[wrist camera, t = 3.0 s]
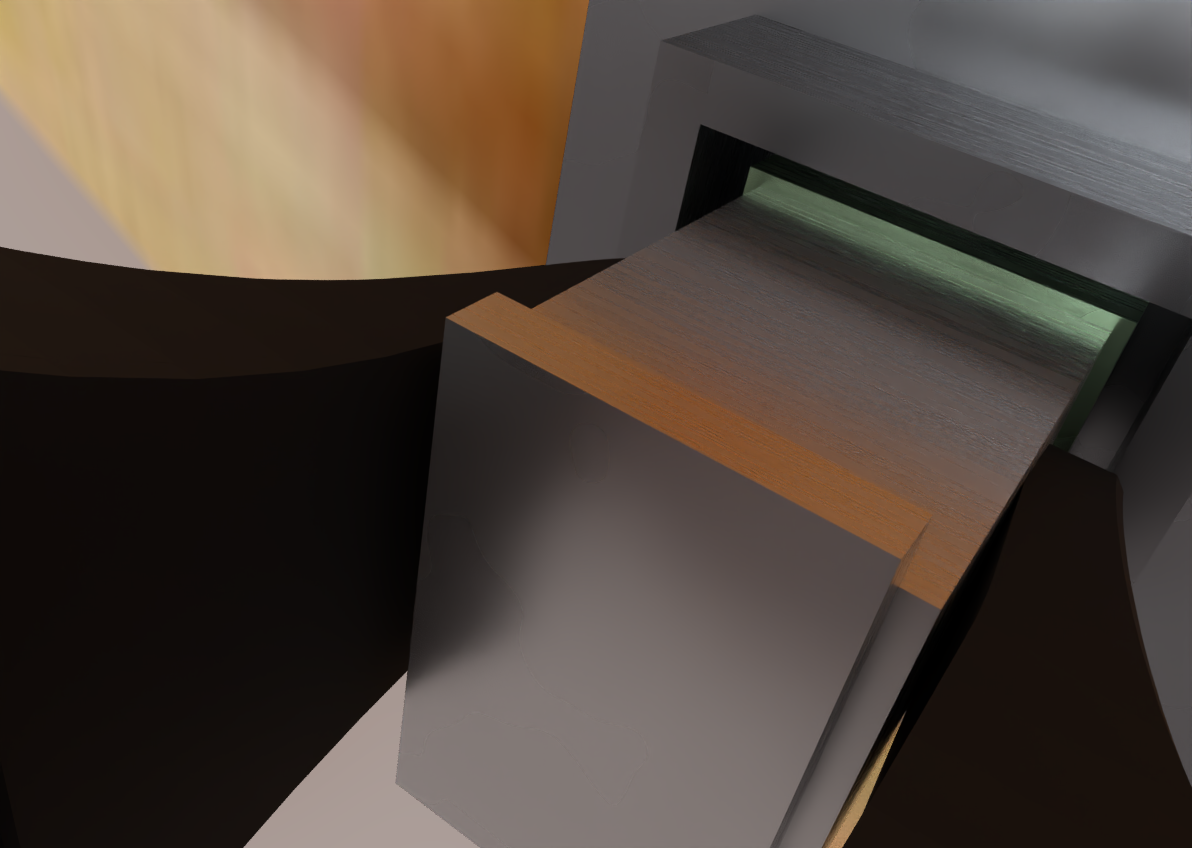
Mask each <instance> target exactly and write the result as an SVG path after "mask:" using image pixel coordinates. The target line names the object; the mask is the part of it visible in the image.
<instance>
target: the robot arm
mask: <svg viewBox="0 0 1192 848" xmlns="http://www.w3.org/2000/svg"><path fill="white" fill-rule="evenodd" d="M623 259H625V258H615V259H601V260H589V261H579V262H569V263H559V264H550V265H541V266H531V267H522V268H512V269H503V270H494V271H484V272H474V273H461V274H446V275H432V276H418V277H404V278H390V279H369V280H276V279H252V278H239V277H227V276H215V275H203V274H191V273H179V272H166V271H154V270H145V269H136V268H129V267H122V266H114V265H107V264H100V263H92V262H85V261H79V260H72V259H67V258H61V257H55V256H49V255H43V254H36V253H31V252H24V251H19V250H14V249H9V248H4V247H0V848H243V847H244V846H245V845H246V844H247V843H248V842H249V840H250V839H251V838H252V837H253V836H254V835H255V834H256V832H257V831H258V830H259V829H260V828H261V827H262V826H263V824H264V823H265V822H266V821H267V820H268V819H269V818H270V817H271V815H272V814H273V813H274V812H275V811H276V810H277V809H278V807H279V806H280V805H281V804H282V803H283V802H284V801H285V799H286V798H287V797H288V796H289V795H290V794H291V792H292V791H293V790H294V789H295V788H296V787H297V786H298V785H299V784H300V783H301V782H302V781H303V779H304V778H305V777H306V776H307V775H308V774H309V773H310V772H311V771H312V770H313V769H314V768H315V766H317V764H318V763H319V762H320V761H321V760H322V759H323V758H324V757H325V756H326V755H327V754H328V753H329V751H330V750H331V749H332V748H333V747H334V746H335V745H336V744H337V743H338V742H339V741H340V740H341V739H342V738H343V737H344V735H345V734H346V733H347V732H348V731H349V730H350V729H351V728H352V727H353V726H354V725H355V724H356V723H357V721H358V720H359V719H360V718H361V717H362V716H363V715H364V714H365V713H366V712H367V711H368V710H369V709H370V708H371V707H372V706H373V705H374V704H375V703H376V702H377V701H378V700H379V699H380V698H381V697H382V696H383V695H384V694H385V693H386V692H387V691H388V690H389V689H390V688H391V687H392V685H394V684H395V683H396V682H397V681H398V680H399V679H400V678H401V677H402V676H403V675H404V674H405V673H406V672H407V671H408V663H409V653H410V644H411V635H412V625H413V616H414V607H415V598H416V588H417V579H418V570H419V561H420V551H421V542H422V533H423V524H424V514H425V505H426V496H427V486H428V477H429V468H430V459H431V449H432V440H433V431H434V422H435V412H436V403H437V394H438V384H439V375H440V366H441V357H442V347H443V338H444V329H445V320H446V317H448V316H450V315H452V314H454V313H456V312H458V311H460V310H462V309H464V308H466V307H468V306H470V305H472V304H474V303H476V302H478V301H480V300H482V299H484V298H486V297H488V296H490V295H492V294H494V293H496V292H498V293H500V294H502V295H504V296H506V297H508V298H510V299H512V300H514V301H516V302H518V303H520V304H522V305H524V306H526V307H528V308H530V309H532V308H534V307H536V306H538V305H540V304H542V303H543V302H545V301H547V300H549V299H551V298H553V297H555V296H556V295H558V294H560V293H562V292H564V291H566V290H568V289H569V288H571V287H573V286H575V285H577V284H579V283H581V282H583V281H584V280H586V279H588V278H590V277H592V276H594V275H596V274H597V273H599V272H601V271H603V270H605V269H607V268H609V267H610V266H612V265H614V264H616V263H618V262H620V261H622V260H623ZM1123 493H1124V492H1123V489H1122V486H1121V484H1120V481H1119V478H1118V476H1117V475H1116V474H1114V473H1112V472H1110V471H1108V470H1106V469H1103V468H1101V467H1099V466H1097V465H1095V464H1093V463H1090V462H1088V461H1086V460H1084V459H1082V458H1080V457H1077V456H1075V455H1073V454H1071V453H1069V452H1067V451H1064V450H1062V449H1060V448H1058V447H1056V446H1054V445H1051V444H1049V445H1048V447H1047V448H1046V449H1045V451H1044V452H1043V454H1042V455H1041V457H1040V458H1039V460H1038V461H1037V463H1036V464H1035V466H1034V467H1033V469H1032V470H1031V472H1030V473H1029V475H1028V476H1027V478H1026V479H1025V481H1024V483H1023V485H1022V487H1021V489H1020V491H1019V493H1018V495H1017V497H1016V499H1015V501H1014V503H1013V505H1012V507H1011V508H1010V510H1009V512H1008V514H1007V516H1006V518H1005V520H1004V522H1003V524H1002V526H1001V528H1000V530H999V532H998V534H997V536H996V538H995V540H994V541H993V543H992V545H991V547H990V549H989V551H988V553H987V555H986V557H985V559H984V561H983V563H982V565H981V567H980V569H979V571H978V573H977V574H976V576H975V578H974V580H973V582H972V584H971V586H970V588H969V590H968V592H967V594H966V596H965V598H964V600H963V602H962V604H961V605H960V607H959V609H958V611H957V613H956V615H955V617H954V619H953V621H952V623H951V625H950V627H949V629H948V631H947V633H946V635H945V637H944V638H943V640H942V642H941V644H940V646H939V648H938V650H937V652H936V654H935V656H934V658H933V660H932V662H931V664H930V666H929V668H928V670H927V671H926V673H925V675H924V677H923V679H922V681H921V683H920V685H919V687H918V689H917V691H916V693H915V695H914V697H913V699H912V701H911V703H910V704H909V706H908V708H907V710H906V713H905V715H904V717H903V720H902V722H901V724H900V727H899V729H898V732H897V734H896V736H895V739H894V741H893V743H892V746H891V748H890V750H889V753H888V755H887V757H886V760H885V762H884V764H883V767H882V769H881V772H880V774H879V776H878V779H877V781H876V783H875V786H874V788H873V790H872V793H871V795H870V798H869V800H868V802H867V805H866V807H865V809H864V812H863V814H862V816H861V817H860V819H859V821H858V822H857V824H856V826H855V827H854V829H853V831H852V832H851V834H850V836H849V838H848V839H847V841H846V843H845V844H844V846H843V848H1192V786H1191V784H1190V782H1189V779H1188V777H1187V775H1186V772H1185V770H1184V767H1183V765H1182V762H1181V760H1180V757H1179V754H1178V752H1177V749H1176V746H1175V744H1174V741H1173V738H1172V735H1171V732H1170V729H1169V726H1168V724H1167V721H1166V718H1165V715H1164V712H1163V709H1162V705H1161V702H1160V699H1159V695H1158V692H1157V689H1156V686H1155V682H1154V679H1153V676H1152V672H1151V669H1150V666H1149V662H1148V658H1147V654H1146V650H1145V646H1144V642H1143V638H1142V634H1141V629H1140V625H1139V620H1138V615H1137V610H1136V606H1135V601H1134V596H1133V591H1132V586H1131V581H1130V574H1129V568H1128V561H1127V553H1126V545H1125V537H1124V524H1123Z"/></svg>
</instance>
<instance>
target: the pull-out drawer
mask: <svg viewBox="0 0 1192 848" xmlns="http://www.w3.org/2000/svg"><path fill="white" fill-rule="evenodd" d="M1148 303H1149V302H1148V301H1146V300H1143V299H1141V298H1138V297H1136V296H1133V295H1130V294H1128V293H1125V292H1123V291H1120V290H1118V289H1115V288H1113V287H1110V286H1108V285H1105V284H1103V283H1100V282H1098V281H1095V280H1093V279H1090V278H1088V277H1085V276H1083V275H1080V274H1077V273H1075V272H1072V271H1070V270H1067V269H1065V268H1062V267H1060V266H1057V265H1055V264H1052V263H1050V262H1047V261H1045V260H1042V259H1040V258H1037V257H1035V256H1032V255H1030V254H1027V253H1025V252H1022V251H1019V250H1017V249H1014V248H1012V247H1009V246H1007V245H1004V244H1002V243H999V242H997V241H994V240H992V239H989V238H987V237H984V236H982V235H979V234H977V233H974V232H972V231H969V230H966V229H964V228H961V227H959V226H956V225H954V224H951V223H949V222H946V221H944V220H941V219H939V218H936V217H934V216H931V215H929V214H926V213H924V212H921V211H919V210H916V209H913V208H911V207H908V206H906V205H903V204H901V203H898V202H896V201H893V200H891V199H888V198H886V197H883V196H881V195H878V194H876V193H873V192H871V191H868V190H866V189H863V188H861V187H858V186H855V185H853V184H850V183H848V182H845V181H843V180H840V179H838V178H835V177H833V176H830V175H828V174H825V173H823V172H820V171H818V170H815V169H813V168H810V167H808V166H805V165H802V164H800V163H797V162H795V161H792V160H790V159H787V158H785V157H782V156H780V155H777V154H775V155H773V156H771V157H769V158H767V159H765V160H763V161H761V162H759V163H757V164H755V165H753V166H751V167H750V170H749V174H748V178H747V181H746V185H745V189H744V192H743V196H741V197H739V198H737V199H735V200H733V201H731V202H730V203H728V204H726V205H724V206H722V207H720V208H718V209H717V210H715V211H713V212H711V213H709V214H707V215H705V216H703V217H702V218H700V219H698V220H696V221H694V222H692V223H690V224H689V225H687V226H685V227H683V228H681V229H679V230H677V231H676V232H674V233H672V234H670V235H668V236H666V237H664V238H663V239H661V240H659V241H657V242H655V243H653V244H651V245H650V246H648V247H646V248H644V249H642V250H640V251H638V252H636V253H635V254H633V255H631V256H629V257H627V258H625V259H623V260H622V261H620V262H618V263H616V264H614V265H612V266H610V267H609V268H607V269H605V270H603V271H601V272H599V273H597V274H596V275H594V276H592V277H590V278H588V279H586V280H584V281H583V282H581V283H579V284H577V285H575V286H573V287H571V288H569V289H568V290H566V291H564V292H562V293H560V294H558V295H556V296H555V297H553V298H551V299H549V300H547V301H545V302H543V303H542V304H540V305H538V306H536V307H534V308H532V309H530V308H528V307H526V306H524V305H522V304H520V303H518V302H516V301H514V300H512V299H510V298H508V297H506V296H504V295H502V294H500V293H498V292H496V293H494V294H492V295H490V296H488V297H486V298H484V299H482V300H480V301H478V302H476V303H474V304H472V305H470V306H468V307H466V308H464V309H462V310H460V311H458V312H456V313H454V314H452V315H450V316H448V317H446V320H445V329H444V338H443V347H442V357H441V366H440V375H439V384H438V394H437V403H436V412H435V422H434V431H433V440H432V449H431V459H430V468H429V477H428V486H427V496H426V505H425V514H424V524H423V533H422V542H421V551H420V561H419V570H418V579H417V588H416V598H415V607H414V616H413V625H412V635H411V644H410V653H409V663H408V672H407V681H406V691H405V700H404V709H403V719H402V727H401V737H400V746H399V755H398V764H397V765H398V766H397V775H396V784H397V785H399V786H400V787H401V788H403V789H404V790H405V791H407V792H408V793H409V794H410V795H412V796H413V797H415V798H416V799H417V800H418V801H420V802H421V803H423V804H424V805H425V806H426V807H427V808H429V809H430V810H431V811H433V812H434V813H435V814H437V815H438V816H439V817H441V818H442V819H443V820H445V821H446V822H447V823H449V824H450V825H451V826H452V827H454V828H455V829H456V830H458V831H459V832H460V833H462V834H463V835H464V836H465V837H467V838H468V839H469V840H471V841H472V842H474V843H475V844H476V845H477V846H479V847H480V848H829V847H830V845H831V843H832V842H833V840H834V838H835V836H836V835H837V833H838V831H839V829H840V828H841V826H842V824H843V823H844V821H845V819H846V817H847V816H848V814H849V812H850V810H851V809H852V807H853V805H854V804H855V802H856V800H857V798H858V797H859V795H860V793H861V791H862V790H863V788H864V786H865V785H866V783H867V781H868V779H869V778H870V776H871V774H872V772H873V771H874V769H875V767H876V766H877V764H878V762H879V760H880V759H881V757H882V755H883V753H884V752H885V750H886V748H887V747H888V745H889V743H890V741H891V740H892V738H893V736H894V734H895V733H896V731H897V729H898V728H899V726H900V724H901V722H902V720H903V717H904V715H905V713H906V710H907V708H908V706H909V704H910V703H911V701H912V699H913V697H914V695H915V693H916V691H917V689H918V687H919V685H920V683H921V681H922V679H923V677H924V675H925V673H926V671H927V670H928V668H929V666H930V664H931V662H932V660H933V658H934V656H935V654H936V652H937V650H938V648H939V646H940V644H941V642H942V640H943V638H944V637H945V635H946V633H947V631H948V629H949V627H950V625H951V623H952V621H953V619H954V617H955V615H956V613H957V611H958V609H959V607H960V605H961V604H962V602H963V600H964V598H965V596H966V594H967V592H968V590H969V588H970V586H971V584H972V582H973V580H974V578H975V576H976V574H977V573H978V571H979V569H980V567H981V565H982V563H983V561H984V559H985V557H986V555H987V553H988V551H989V549H990V547H991V545H992V543H993V541H994V540H995V538H996V536H997V534H998V532H999V530H1000V528H1001V526H1002V524H1003V522H1004V520H1005V518H1006V516H1007V514H1008V512H1009V510H1010V508H1011V507H1012V505H1013V503H1014V501H1015V499H1016V497H1017V495H1018V493H1019V491H1020V489H1021V487H1022V485H1023V483H1024V481H1025V479H1026V478H1027V476H1028V475H1029V473H1030V472H1031V470H1032V469H1033V467H1034V466H1035V464H1036V463H1037V461H1038V460H1039V458H1040V457H1041V455H1042V454H1043V452H1044V451H1045V449H1046V448H1047V447H1048V445H1049V444H1051V445H1054V446H1056V447H1058V448H1060V449H1062V450H1064V451H1067V452H1069V451H1070V449H1071V447H1072V446H1073V444H1074V442H1075V440H1076V438H1077V436H1078V434H1079V432H1080V431H1081V429H1082V427H1083V425H1084V423H1085V421H1086V419H1087V417H1088V416H1089V414H1090V412H1091V410H1092V408H1093V406H1094V404H1095V403H1096V401H1097V399H1098V397H1099V395H1100V393H1101V391H1102V389H1103V388H1104V386H1105V384H1106V382H1107V380H1108V378H1109V376H1110V374H1111V373H1112V371H1113V369H1114V367H1115V365H1116V363H1117V361H1118V360H1119V358H1120V356H1121V354H1122V352H1123V350H1124V348H1125V346H1126V345H1127V343H1128V341H1129V339H1130V337H1131V335H1132V333H1133V331H1134V330H1135V328H1136V326H1137V324H1138V322H1139V320H1140V318H1141V317H1142V315H1143V313H1144V311H1145V309H1146V307H1147V305H1148Z"/></svg>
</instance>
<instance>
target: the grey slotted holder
mask: <svg viewBox="0 0 1192 848" xmlns="http://www.w3.org/2000/svg"><path fill="white" fill-rule="evenodd" d="M775 154H777V155H780V156H782V157H785V158H787V159H790V160H792V161H795V162H797V163H800V164H802V165H805V166H808V167H810V168H813V169H815V170H818V171H820V172H823V173H825V174H828V175H830V176H833V177H835V178H838V179H840V180H843V181H845V182H848V183H850V184H853V185H855V186H858V187H861V188H863V189H866V190H868V191H871V192H873V193H876V194H878V195H881V196H883V197H886V198H888V199H891V200H893V201H896V202H898V203H901V204H903V205H906V206H908V207H911V208H913V209H916V210H919V211H921V212H924V213H926V214H929V215H931V216H934V217H936V218H939V219H941V220H944V221H946V222H949V223H951V224H954V225H956V226H959V227H961V228H964V229H966V230H969V231H972V232H974V233H977V234H979V235H982V236H984V237H987V238H989V239H992V240H994V241H997V242H999V243H1002V244H1004V245H1007V246H1009V247H1012V248H1014V249H1017V250H1019V251H1022V252H1025V253H1027V254H1030V255H1032V256H1035V257H1037V258H1040V259H1042V260H1045V261H1047V262H1050V263H1052V264H1055V265H1057V266H1060V267H1062V268H1065V269H1067V270H1070V271H1072V272H1075V273H1077V274H1080V275H1083V276H1085V277H1088V278H1090V279H1093V280H1095V281H1098V282H1100V283H1103V284H1105V285H1108V286H1110V287H1113V288H1115V289H1118V290H1120V291H1123V292H1125V293H1128V294H1130V295H1133V296H1136V297H1138V298H1141V299H1143V300H1146V301H1148V302H1149V303H1148V305H1147V307H1146V309H1145V311H1144V313H1143V315H1142V317H1141V318H1140V320H1139V322H1138V324H1137V326H1136V328H1135V330H1134V331H1133V333H1132V335H1131V337H1130V339H1129V341H1128V343H1127V345H1126V346H1125V348H1124V350H1123V352H1122V354H1121V356H1120V358H1119V360H1118V361H1117V363H1116V365H1115V367H1114V369H1113V371H1112V373H1111V374H1110V376H1109V378H1108V380H1107V382H1106V384H1105V386H1104V388H1103V389H1102V391H1101V393H1100V395H1099V397H1098V399H1097V401H1096V403H1095V404H1094V406H1093V408H1092V410H1091V412H1090V414H1089V416H1088V417H1087V419H1086V421H1085V423H1084V425H1083V427H1082V429H1081V431H1080V432H1079V434H1078V436H1077V438H1076V440H1075V442H1074V444H1073V446H1072V447H1071V449H1070V451H1069V453H1071V454H1073V455H1075V456H1077V457H1080V458H1082V459H1084V460H1086V461H1088V462H1090V463H1093V464H1095V465H1097V466H1099V467H1101V468H1103V469H1106V470H1108V471H1110V472H1112V473H1114V474H1116V475H1117V476H1118V478H1119V481H1120V484H1121V486H1122V489H1123V492H1124V493H1123V524H1124V537H1125V545H1126V553H1127V561H1128V568H1129V574H1130V581H1131V586H1132V591H1133V596H1134V601H1135V606H1136V610H1137V615H1138V620H1139V625H1140V629H1141V634H1142V638H1143V642H1144V646H1145V650H1146V654H1147V658H1148V662H1149V666H1150V669H1151V672H1152V676H1153V679H1154V682H1155V686H1156V689H1157V692H1158V695H1159V699H1160V702H1161V705H1162V709H1163V712H1164V715H1165V718H1166V721H1167V724H1168V726H1169V729H1170V732H1171V735H1172V738H1173V741H1174V744H1175V746H1176V749H1177V752H1178V754H1179V757H1180V760H1181V762H1182V765H1183V767H1184V770H1185V772H1186V775H1187V777H1188V779H1189V782H1190V784H1191V786H1192V0H589V6H588V12H587V18H586V24H585V30H584V36H583V42H582V48H581V54H580V60H579V67H578V73H577V79H576V85H575V91H574V97H573V103H572V109H571V115H570V121H569V127H568V134H567V140H566V146H565V152H564V158H563V164H562V170H561V176H560V182H559V188H558V194H557V201H556V207H555V213H554V219H553V225H552V231H551V237H550V243H549V249H548V255H547V261H546V265H550V264H559V263H569V262H579V261H589V260H601V259H615V258H627V257H629V256H631V255H633V254H635V253H636V252H638V251H640V250H642V249H644V248H646V247H648V246H650V245H651V244H653V243H655V242H657V241H659V240H661V239H663V238H664V237H666V236H668V235H670V234H672V233H674V232H676V231H677V230H679V229H681V228H683V227H685V226H687V225H689V224H690V223H692V222H694V221H696V220H698V219H700V218H702V217H703V216H705V215H707V214H709V213H711V212H713V211H715V210H717V209H718V208H720V207H722V206H724V205H726V204H728V203H730V202H731V201H733V200H735V199H737V198H739V197H741V196H743V192H744V189H745V185H746V181H747V178H748V174H749V170H750V167H751V166H753V165H755V164H757V163H759V162H761V161H763V160H765V159H767V158H769V157H771V156H773V155H775Z"/></svg>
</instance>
